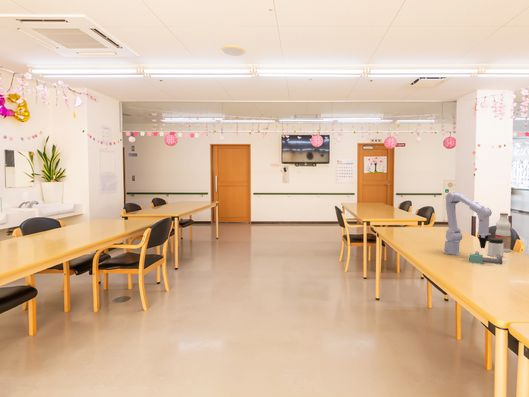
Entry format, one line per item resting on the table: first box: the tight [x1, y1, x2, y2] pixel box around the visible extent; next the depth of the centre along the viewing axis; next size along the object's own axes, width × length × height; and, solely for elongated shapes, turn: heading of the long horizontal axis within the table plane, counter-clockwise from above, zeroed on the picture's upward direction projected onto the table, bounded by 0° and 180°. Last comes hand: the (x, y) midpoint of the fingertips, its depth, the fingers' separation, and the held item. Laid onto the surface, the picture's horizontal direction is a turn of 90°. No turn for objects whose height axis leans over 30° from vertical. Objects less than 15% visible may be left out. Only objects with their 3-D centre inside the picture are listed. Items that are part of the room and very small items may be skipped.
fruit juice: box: [494, 212, 512, 253], centre depth 255 cm, size 9×9×28 cm
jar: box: [487, 237, 504, 258], centre depth 240 cm, size 9×8×12 cm
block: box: [469, 253, 484, 265], centre depth 224 cm, size 7×4×5 cm, turn 55°
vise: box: [469, 254, 503, 265], centre depth 228 cm, size 18×10×4 cm, turn 55°
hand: (482, 247), depth 226 cm, fingers open, 7 cm apart
